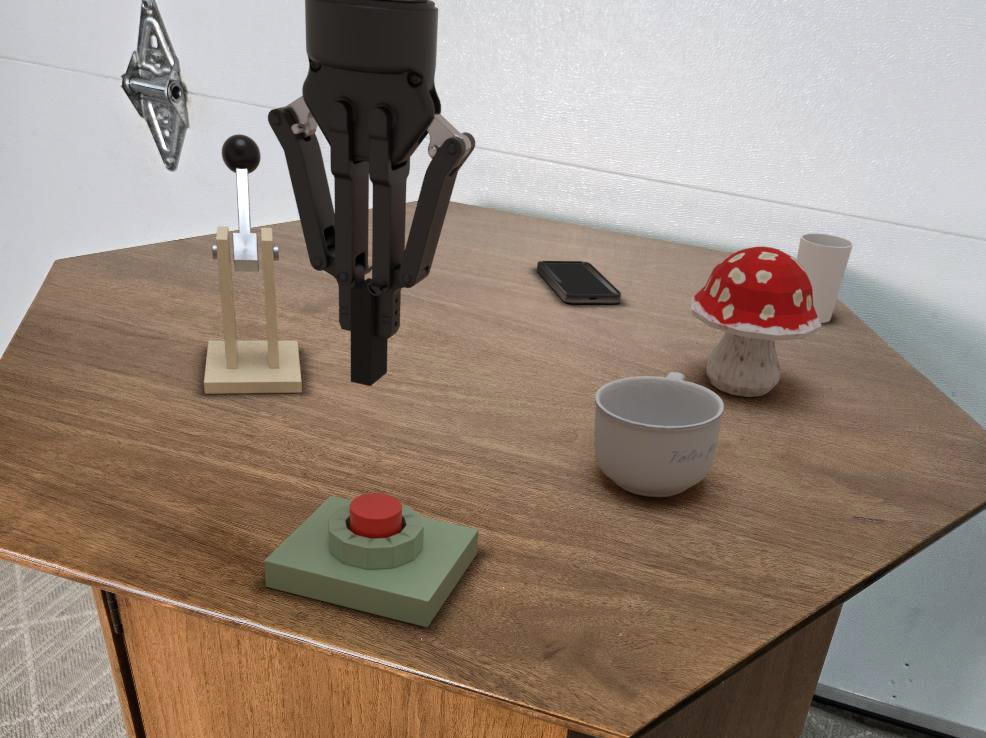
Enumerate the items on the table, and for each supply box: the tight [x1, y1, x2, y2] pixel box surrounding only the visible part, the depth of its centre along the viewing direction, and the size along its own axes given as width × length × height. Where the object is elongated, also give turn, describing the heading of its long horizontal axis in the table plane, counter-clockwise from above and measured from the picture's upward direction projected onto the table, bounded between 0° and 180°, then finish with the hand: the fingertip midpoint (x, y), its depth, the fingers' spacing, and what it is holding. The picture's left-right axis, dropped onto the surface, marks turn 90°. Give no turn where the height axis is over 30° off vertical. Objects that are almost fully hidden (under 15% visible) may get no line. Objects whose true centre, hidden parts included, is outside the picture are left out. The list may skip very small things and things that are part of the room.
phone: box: [536, 260, 622, 305], centre depth 133 cm, size 8×1×15 cm
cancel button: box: [350, 492, 403, 539], centre depth 68 cm, size 4×4×2 cm
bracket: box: [203, 226, 303, 395], centre depth 95 cm, size 11×9×14 cm
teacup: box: [593, 371, 725, 498], centre depth 85 cm, size 14×11×8 cm
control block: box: [263, 495, 479, 628], centre depth 70 cm, size 12×10×4 cm
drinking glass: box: [796, 232, 854, 324], centre depth 129 cm, size 7×7×10 cm
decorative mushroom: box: [690, 245, 822, 398], centre depth 103 cm, size 14×14×15 cm
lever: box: [221, 133, 262, 273], centre depth 94 cm, size 13×4×4 cm
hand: (369, 376), depth 68 cm, fingers closed
